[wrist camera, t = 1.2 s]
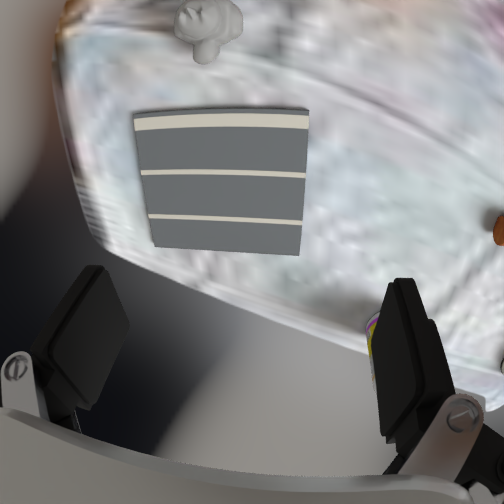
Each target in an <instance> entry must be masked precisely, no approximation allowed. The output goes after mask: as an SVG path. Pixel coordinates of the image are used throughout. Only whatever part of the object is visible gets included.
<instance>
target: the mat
mask: <svg viewBox="0 0 504 504" xmlns="http://www.w3.org/2000/svg"><path fill="white" fill-rule="evenodd" d="M133 117H134V127H135V133H136V141H137V148H138V155H139V162H140V168H141V175H142V181H143V187H144V193H145V199H146V204H147V210H148V216H149V220H150V226H151V231H152V236H153V241H154V245H155V247H164V248H180V249H196V250H212V251H228V252H245V253H261V254H277V255H293V256H299V252H300V241H301V230H302V218H303V206H304V192H305V178H306V163H307V146H308V127H309V110H298V109H277V108H206V109H185V110H170V111H157V112H146V113H137V114H134V115H133Z"/></svg>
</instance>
